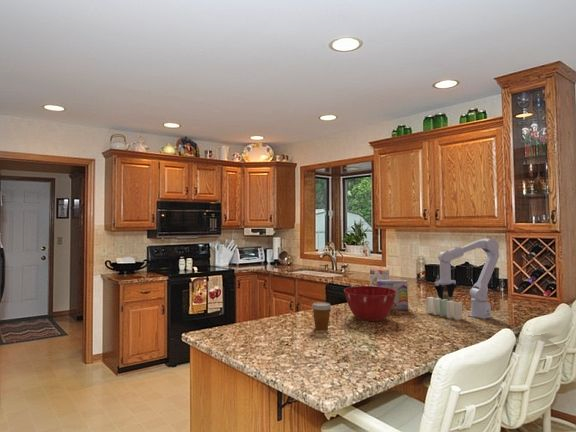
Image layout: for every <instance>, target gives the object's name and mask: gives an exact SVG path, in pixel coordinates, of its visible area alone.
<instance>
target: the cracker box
mask: <svg viewBox="0 0 576 432" xmlns="http://www.w3.org/2000/svg"><path fill="white" fill-rule="evenodd" d="M377 280H390V270H389V269H384V268H378V267H371V268H370V267H369V284H370V285H369V286H375V287H377Z"/></svg>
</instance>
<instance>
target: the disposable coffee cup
mask: <svg viewBox="0 0 576 432" xmlns="http://www.w3.org/2000/svg"><path fill="white" fill-rule="evenodd" d="M331 308H332V305H331V303H329V302H324V301H323V302H321V301H317V302H314V303H312V305H311V309H312V311H313V321H314V328H315V329H316V330H320V331H324V330H328V328H329V322H330V313H331Z"/></svg>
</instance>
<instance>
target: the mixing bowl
mask: <svg viewBox="0 0 576 432" xmlns="http://www.w3.org/2000/svg"><path fill="white" fill-rule="evenodd" d="M343 292H344V295H345V299H346V301H347V305H348V307H349V310H350V311H351V313H352V314H353V316H354V317H356V318H357V319H358V320H360V321H363V322H364V321H365V322H378V321H382V320H383V319H385V318H386V317H387V316H388V315H389V314H390V311H391V310H392V309H391V307H392V305H393V302H394V299H395V295H396V293H397V292H396V291H395V290H393V289H390V288H384V287H375V286H370V285H364V286H363V285H361V286H360V285H357V286H350V287H346V288H344V289H343Z"/></svg>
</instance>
